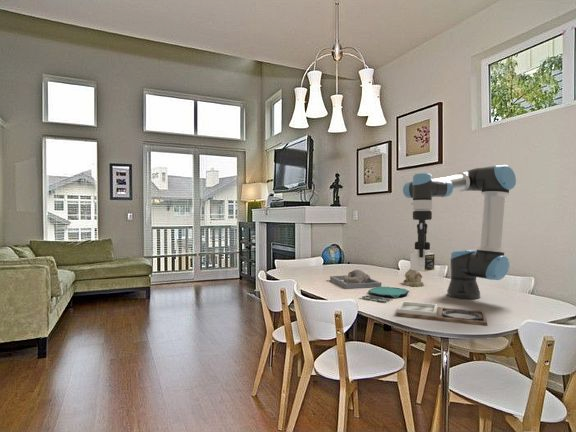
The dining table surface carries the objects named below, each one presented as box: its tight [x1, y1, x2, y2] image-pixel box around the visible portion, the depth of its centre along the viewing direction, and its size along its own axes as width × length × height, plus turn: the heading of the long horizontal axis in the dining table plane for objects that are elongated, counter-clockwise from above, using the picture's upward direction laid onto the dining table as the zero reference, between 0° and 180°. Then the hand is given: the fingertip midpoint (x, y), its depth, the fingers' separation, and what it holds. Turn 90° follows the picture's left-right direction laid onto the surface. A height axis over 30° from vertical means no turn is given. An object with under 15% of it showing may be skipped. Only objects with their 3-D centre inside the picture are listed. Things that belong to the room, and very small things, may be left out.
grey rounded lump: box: [342, 269, 371, 284], centre depth 223 cm, size 16×9×15 cm
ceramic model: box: [402, 268, 425, 287], centre depth 221 cm, size 14×11×10 cm
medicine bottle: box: [409, 241, 435, 273], centre depth 158 cm, size 7×7×12 cm
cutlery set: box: [358, 286, 410, 304], centre depth 192 cm, size 20×30×2 cm, turn 139°
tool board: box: [395, 300, 488, 326], centre depth 155 cm, size 33×18×2 cm, turn 66°
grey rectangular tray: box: [329, 274, 382, 290], centre depth 225 cm, size 21×28×2 cm
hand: (422, 263), depth 158 cm, fingers closed on medicine bottle, 9 cm apart
